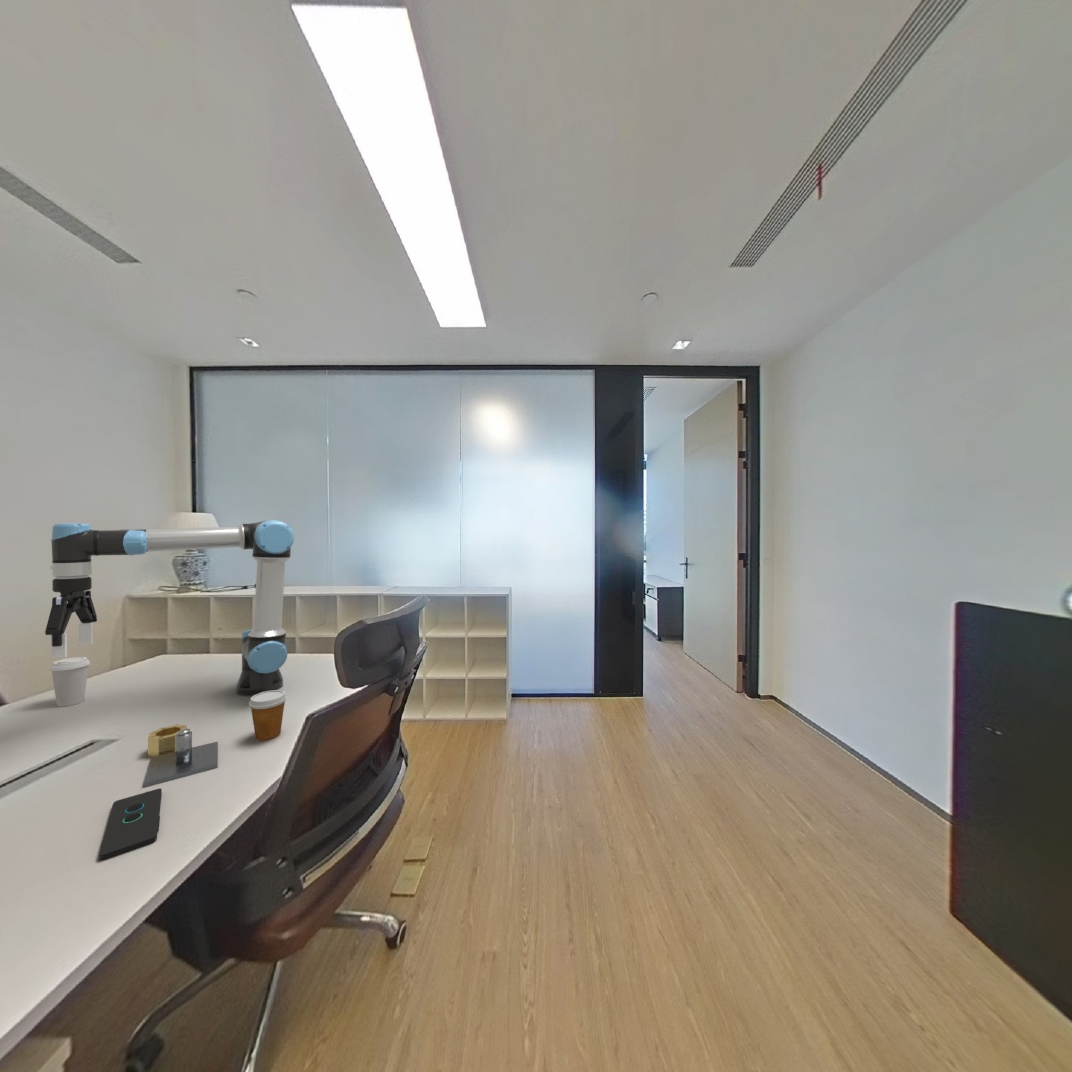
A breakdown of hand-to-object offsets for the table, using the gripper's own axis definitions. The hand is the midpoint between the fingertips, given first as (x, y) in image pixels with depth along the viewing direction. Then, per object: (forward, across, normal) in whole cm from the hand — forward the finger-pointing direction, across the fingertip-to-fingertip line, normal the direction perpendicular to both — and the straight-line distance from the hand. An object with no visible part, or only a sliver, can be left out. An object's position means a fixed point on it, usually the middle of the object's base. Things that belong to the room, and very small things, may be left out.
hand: (73, 651), depth 120 cm
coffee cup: (+26, -36, -16) cm, 47 cm away
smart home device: (+27, +51, +30) cm, 65 cm away
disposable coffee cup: (+26, +19, +50) cm, 60 cm away
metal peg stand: (+26, +28, +32) cm, 50 cm away
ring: (+26, +17, +26) cm, 40 cm away
